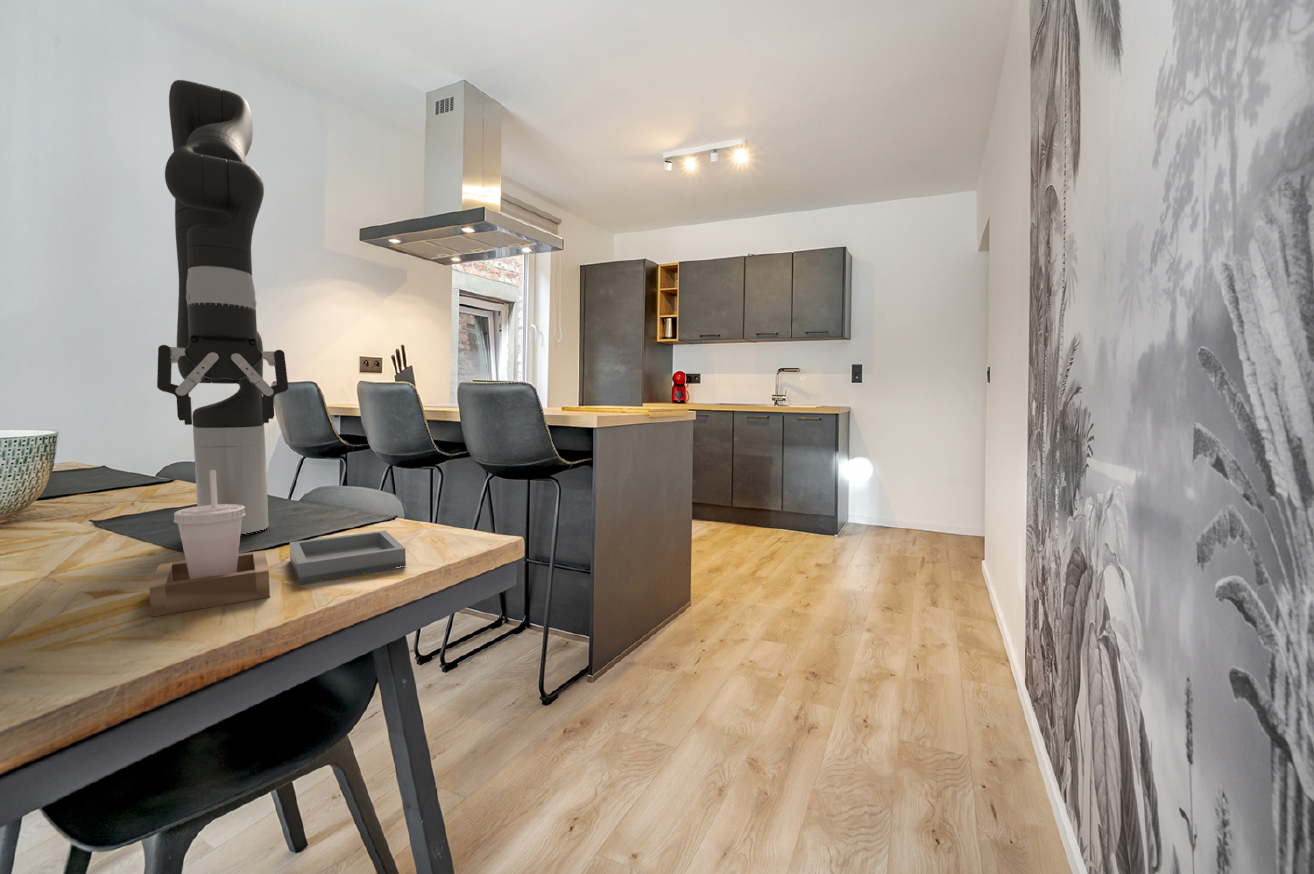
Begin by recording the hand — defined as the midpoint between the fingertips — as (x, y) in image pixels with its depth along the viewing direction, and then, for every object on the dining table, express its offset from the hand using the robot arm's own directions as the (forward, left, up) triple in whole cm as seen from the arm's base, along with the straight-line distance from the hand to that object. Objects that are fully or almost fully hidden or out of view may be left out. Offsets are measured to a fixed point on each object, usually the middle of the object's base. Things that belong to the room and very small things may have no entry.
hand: (228, 423), depth 79 cm
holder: (+18, -2, -18) cm, 26 cm away
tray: (+14, +12, -18) cm, 26 cm away
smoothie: (+18, -2, -19) cm, 26 cm away
